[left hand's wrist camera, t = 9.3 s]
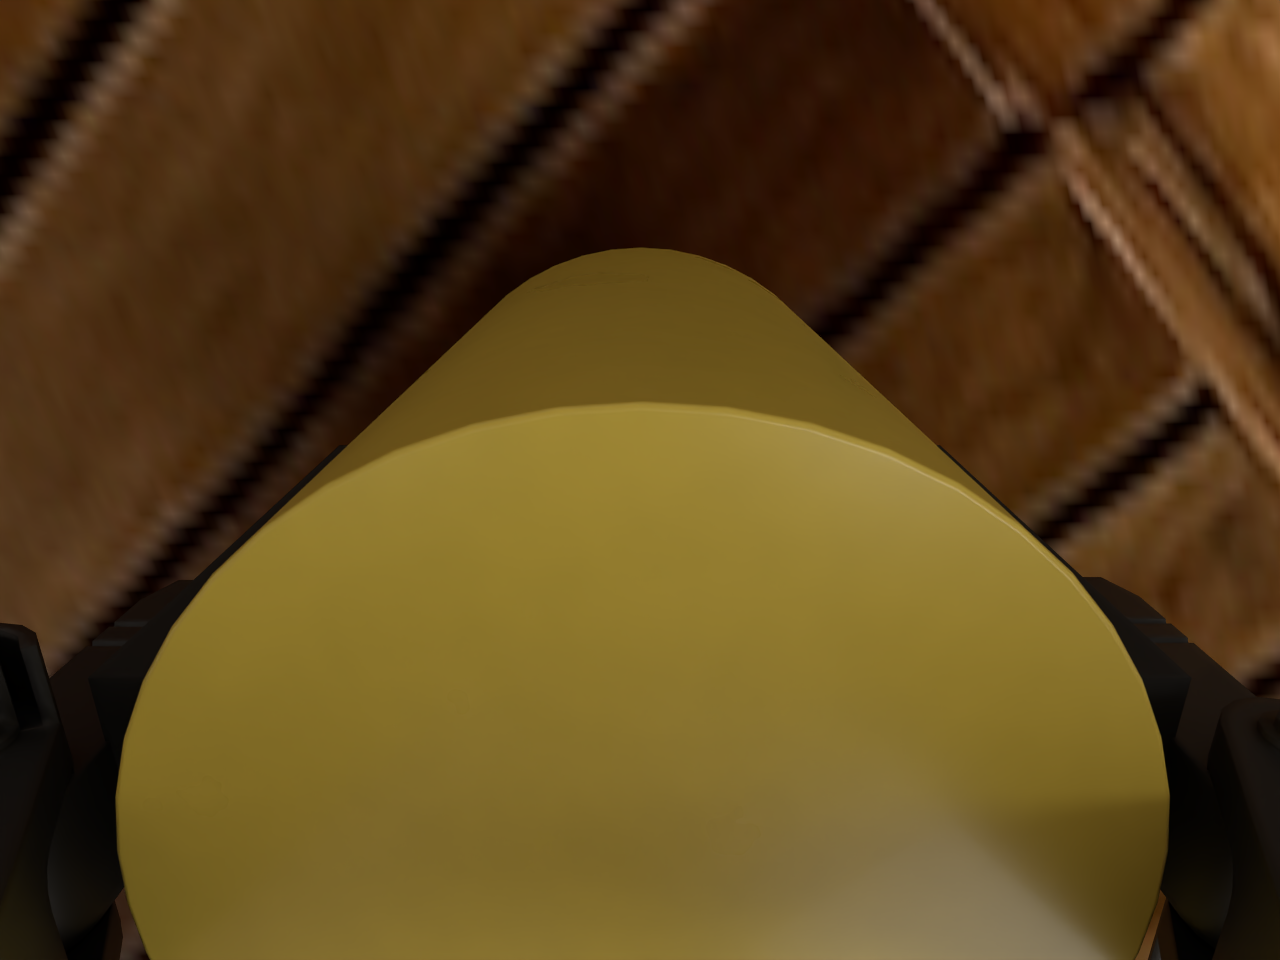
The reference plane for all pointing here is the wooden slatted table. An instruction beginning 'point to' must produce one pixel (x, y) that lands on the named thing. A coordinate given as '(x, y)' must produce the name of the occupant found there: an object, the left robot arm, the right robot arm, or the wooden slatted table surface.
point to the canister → (642, 674)
